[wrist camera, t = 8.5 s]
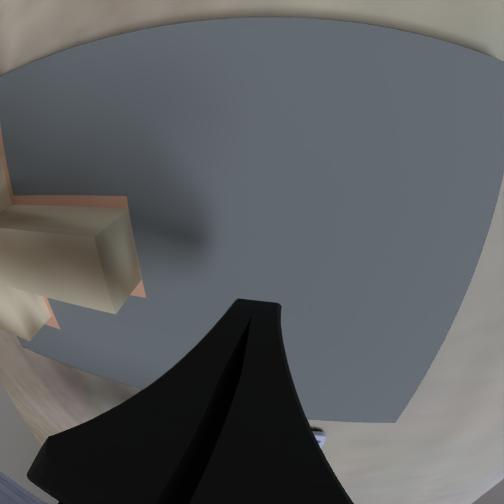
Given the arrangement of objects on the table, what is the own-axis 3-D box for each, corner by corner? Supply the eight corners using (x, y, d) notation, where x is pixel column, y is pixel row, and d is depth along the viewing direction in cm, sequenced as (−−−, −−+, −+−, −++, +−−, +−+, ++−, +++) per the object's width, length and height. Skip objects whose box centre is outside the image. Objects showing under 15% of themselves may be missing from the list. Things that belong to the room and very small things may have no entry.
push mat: (394, 410, 18) (395, 422, 17) (28, 339, 22) (22, 346, 21) (503, 66, 7) (516, 66, 7) (-45, 102, 12) (-56, 106, 11)
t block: (157, 343, 16) (139, 378, 14) (19, 305, 18) (-1, 327, 16) (116, 104, 10) (73, 115, 8) (-32, 138, 12) (-63, 153, 10)
